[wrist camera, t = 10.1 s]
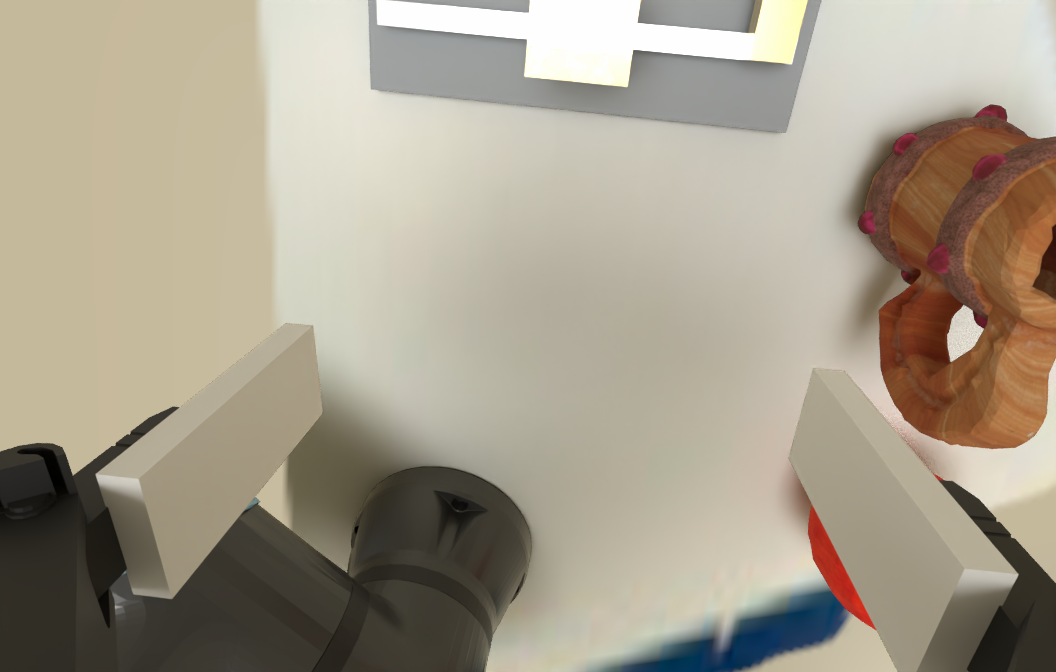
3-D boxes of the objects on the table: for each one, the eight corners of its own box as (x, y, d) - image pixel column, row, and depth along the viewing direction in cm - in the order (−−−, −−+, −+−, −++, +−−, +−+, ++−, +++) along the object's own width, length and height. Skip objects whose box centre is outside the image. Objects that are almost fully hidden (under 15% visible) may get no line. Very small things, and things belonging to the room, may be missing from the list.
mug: (892, 84, 32) (1095, 103, 19) (1040, 119, 32) (1354, 163, 18) (785, 320, 38) (877, 460, 25) (907, 350, 38) (1066, 508, 25)
